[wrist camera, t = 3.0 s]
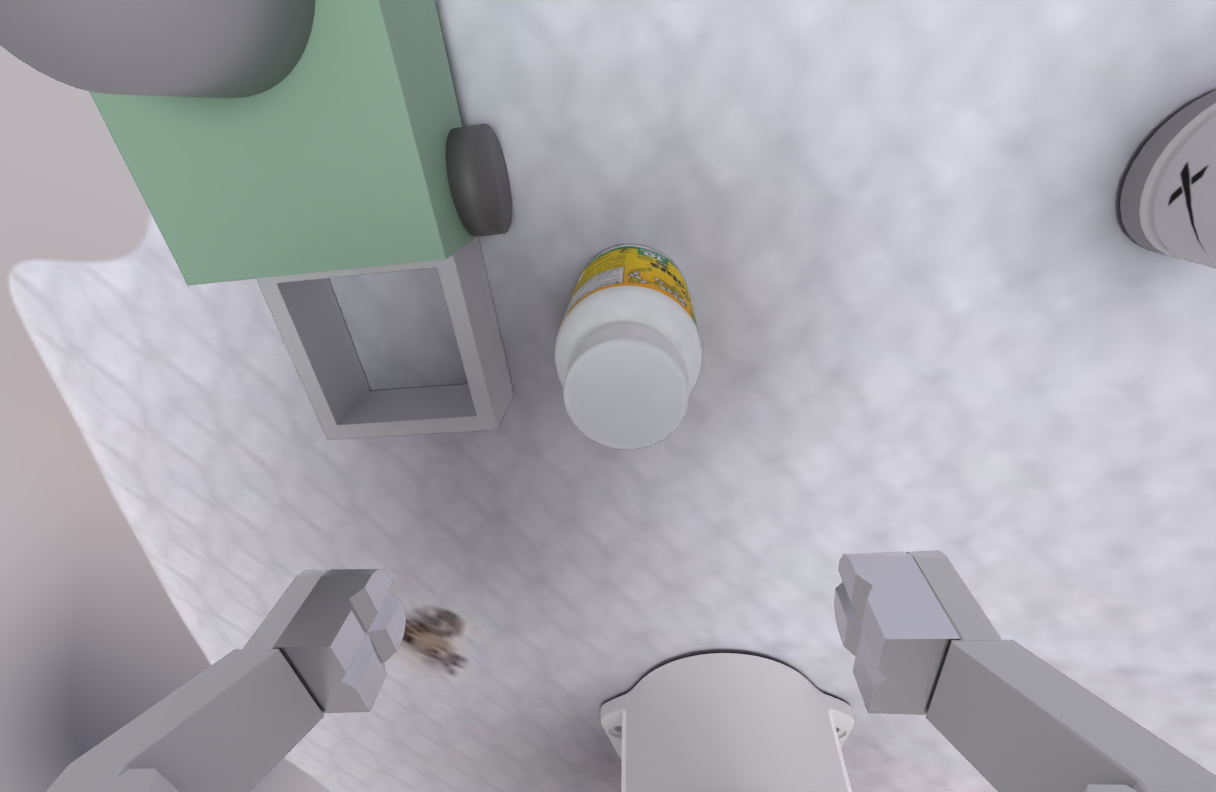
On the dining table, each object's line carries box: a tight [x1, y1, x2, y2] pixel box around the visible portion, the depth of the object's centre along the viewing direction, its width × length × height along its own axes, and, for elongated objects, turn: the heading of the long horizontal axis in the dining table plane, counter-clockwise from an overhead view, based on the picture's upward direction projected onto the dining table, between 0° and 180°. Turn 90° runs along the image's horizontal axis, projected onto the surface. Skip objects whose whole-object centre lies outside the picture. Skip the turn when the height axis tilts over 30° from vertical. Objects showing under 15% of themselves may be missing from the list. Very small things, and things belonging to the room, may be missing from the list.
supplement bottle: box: [554, 244, 702, 449], centre depth 20 cm, size 5×5×10 cm
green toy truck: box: [0, 0, 514, 440], centre depth 18 cm, size 23×12×10 cm, turn 6°
